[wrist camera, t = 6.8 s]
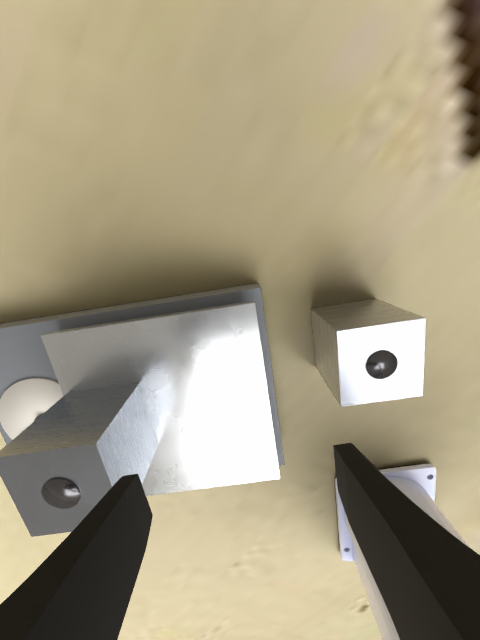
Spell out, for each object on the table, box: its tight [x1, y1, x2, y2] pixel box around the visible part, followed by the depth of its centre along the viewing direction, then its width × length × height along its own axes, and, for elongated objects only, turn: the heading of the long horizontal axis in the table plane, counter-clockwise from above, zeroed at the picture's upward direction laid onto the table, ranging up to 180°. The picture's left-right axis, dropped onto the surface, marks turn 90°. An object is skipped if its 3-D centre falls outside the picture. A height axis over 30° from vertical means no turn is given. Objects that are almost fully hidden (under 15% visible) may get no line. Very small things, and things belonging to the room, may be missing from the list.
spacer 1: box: [0, 382, 159, 537], centre depth 14 cm, size 4×4×5 cm
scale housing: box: [0, 283, 285, 466], centre depth 18 cm, size 13×19×2 cm
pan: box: [41, 301, 280, 496], centre depth 17 cm, size 12×12×3 cm
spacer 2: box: [311, 299, 426, 407], centre depth 16 cm, size 4×4×5 cm
